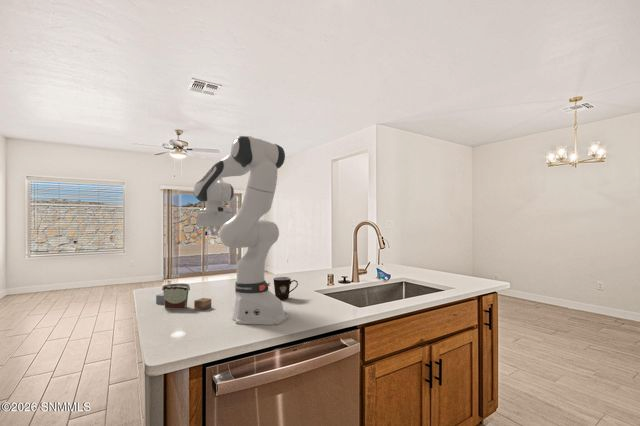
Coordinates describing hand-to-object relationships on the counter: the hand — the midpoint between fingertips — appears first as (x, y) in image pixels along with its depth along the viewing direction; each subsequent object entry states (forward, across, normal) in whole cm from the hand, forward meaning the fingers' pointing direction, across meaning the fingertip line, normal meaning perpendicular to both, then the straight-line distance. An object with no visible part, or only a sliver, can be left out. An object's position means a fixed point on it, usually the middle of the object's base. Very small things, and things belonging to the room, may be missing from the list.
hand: (214, 235), depth 157 cm
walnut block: (+31, +9, -20) cm, 38 cm away
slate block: (+31, -15, -17) cm, 39 cm away
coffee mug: (+31, +37, +6) cm, 49 cm away
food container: (+31, -3, -21) cm, 38 cm away
